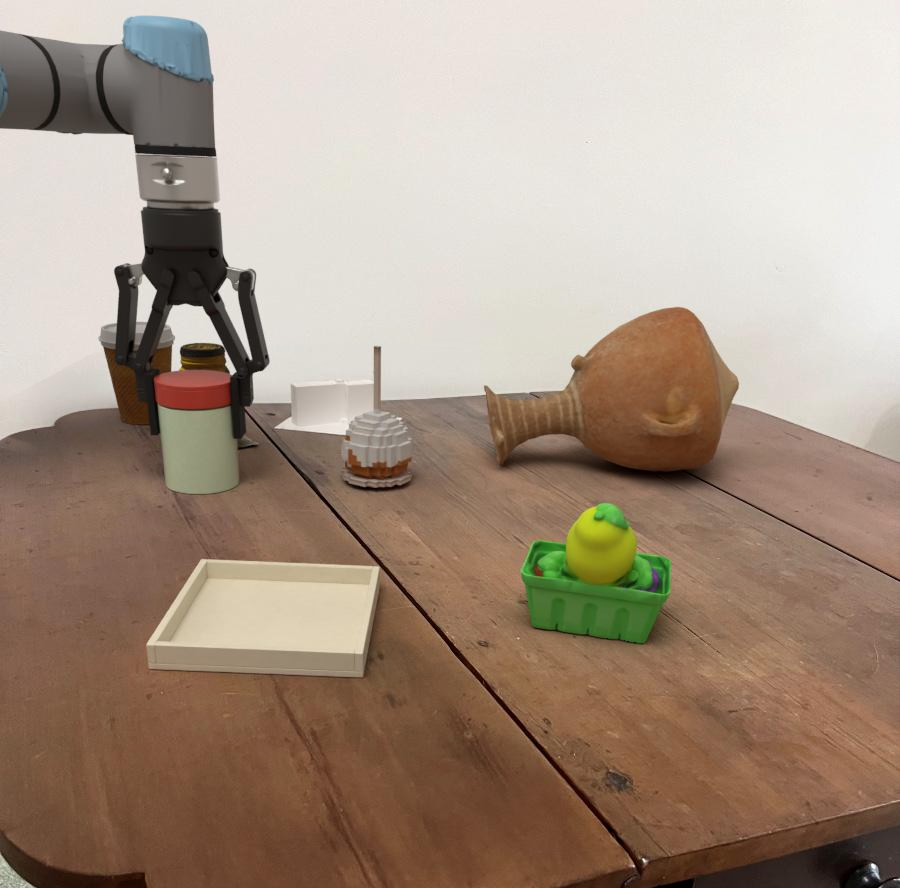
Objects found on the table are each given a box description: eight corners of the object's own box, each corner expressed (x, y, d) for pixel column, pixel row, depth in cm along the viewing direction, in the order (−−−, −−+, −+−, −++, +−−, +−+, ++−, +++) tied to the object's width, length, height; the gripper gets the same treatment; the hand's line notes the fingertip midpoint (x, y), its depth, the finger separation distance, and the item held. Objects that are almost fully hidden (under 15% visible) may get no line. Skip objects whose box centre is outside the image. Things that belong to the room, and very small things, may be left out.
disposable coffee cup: (93, 418, 123) (81, 326, 117) (151, 406, 130) (142, 318, 125) (139, 432, 118) (129, 336, 113) (197, 418, 125) (189, 327, 120)
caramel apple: (367, 466, 109) (368, 337, 103) (423, 478, 106) (427, 345, 99) (328, 483, 103) (325, 346, 96) (386, 496, 100) (387, 356, 93)
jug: (783, 400, 96) (499, 427, 95) (736, 499, 113) (495, 523, 112) (736, 263, 105) (477, 287, 104) (699, 374, 122) (475, 395, 121)
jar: (155, 492, 98) (145, 389, 93) (176, 469, 105) (167, 373, 100) (230, 495, 98) (224, 393, 93) (246, 472, 105) (240, 376, 100)
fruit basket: (663, 611, 77) (683, 483, 72) (660, 662, 69) (683, 521, 64) (528, 593, 79) (539, 467, 74) (511, 640, 71) (522, 502, 66)
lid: (144, 407, 94) (142, 385, 93) (167, 389, 101) (165, 368, 100) (226, 411, 94) (224, 388, 93) (243, 392, 101) (241, 371, 100)
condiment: (174, 439, 116) (165, 342, 110) (238, 432, 120) (232, 338, 115) (193, 455, 110) (185, 353, 105) (260, 446, 114) (255, 348, 109)
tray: (148, 669, 65) (145, 644, 64) (202, 580, 79) (200, 558, 78) (362, 677, 65) (362, 653, 64) (379, 587, 79) (380, 566, 78)
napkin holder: (273, 428, 122) (271, 385, 120) (301, 408, 132) (300, 368, 130) (382, 438, 120) (382, 395, 117) (403, 417, 130) (403, 377, 127)
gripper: (57, 202, 86) (89, 439, 96) (281, 212, 86) (290, 447, 96) (86, 198, 92) (113, 420, 102) (294, 208, 93) (301, 428, 103)
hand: (198, 433), depth 99 cm, fingers closed on lid, 8 cm apart
